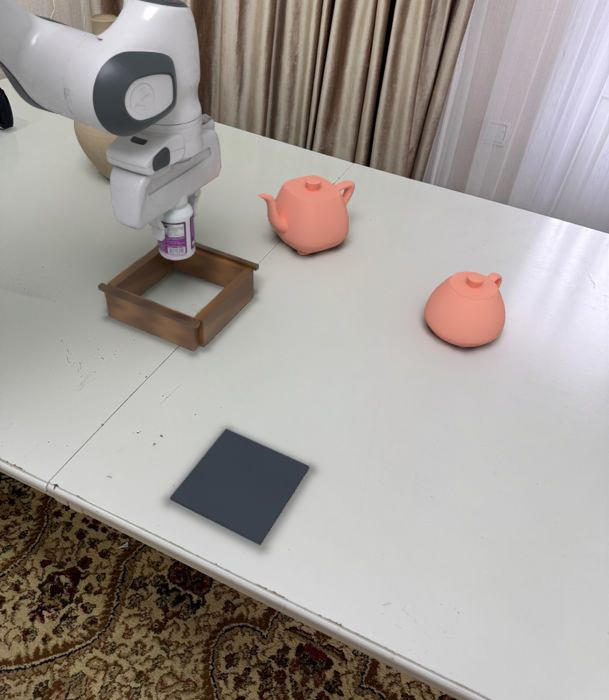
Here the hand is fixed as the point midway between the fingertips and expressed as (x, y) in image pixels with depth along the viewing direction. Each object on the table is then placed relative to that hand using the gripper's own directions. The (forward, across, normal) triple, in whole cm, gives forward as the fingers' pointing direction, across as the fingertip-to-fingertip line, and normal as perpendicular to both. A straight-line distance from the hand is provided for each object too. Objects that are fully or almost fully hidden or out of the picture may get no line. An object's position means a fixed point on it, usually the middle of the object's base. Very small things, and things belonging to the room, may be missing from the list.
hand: (175, 227), depth 90 cm
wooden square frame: (+14, 0, 0) cm, 14 cm away
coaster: (+14, +25, +26) cm, 39 cm away
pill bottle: (+4, 0, 0) cm, 4 cm away
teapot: (+14, -27, +8) cm, 32 cm away
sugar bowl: (+14, -18, +41) cm, 47 cm away
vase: (+14, -29, -35) cm, 48 cm away
